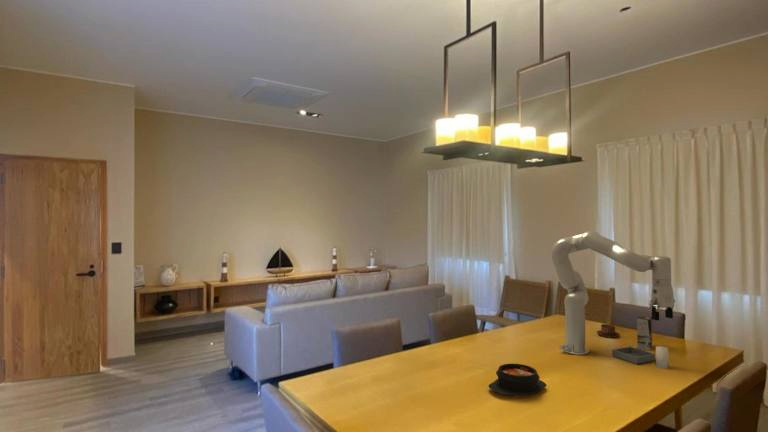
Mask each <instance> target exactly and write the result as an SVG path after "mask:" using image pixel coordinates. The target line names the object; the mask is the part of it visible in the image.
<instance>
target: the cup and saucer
mask: <svg viewBox="0 0 768 432" xmlns="http://www.w3.org/2000/svg"><path fill="white" fill-rule="evenodd" d="M600 328H601V329H600V330H597V331H596V333H597V334H598V335H599V336H601V337H605V338H617V337H619V336H620V333H619V332H616V326H615V325H612V324H608V323H607V324H606V323H605V324H601V325H600Z"/></svg>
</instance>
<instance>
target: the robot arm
mask: <svg viewBox="0 0 768 432" xmlns="http://www.w3.org/2000/svg"><path fill="white" fill-rule="evenodd" d="M587 249H590V250H592V251H593V252H596V253H598V254H600V255H603V256H605V257H606V258H609V259H611V260H612V261H615V262H617V263H619V264H620V265H621V266H622V265H623V266H624V267H626V268H630V270H633V271H636V272H638V273H644V272H648V271H651V274H652V275H651V276H652V277H651V278H652V281H651V282H652V286H651V295H650V296H651V299H650V300H649V302H648V305H649V309H650V312H651V317H652V321H653V320H654V321H657V322H658V321H660V312H659V310H660V308H661V309H664V308H665V309H664V310H665V311H664V314H665V315H664V316H665V317H664V318H668V319H674V309H675V308H674V307H675V303H676V299H675V297H674V289H673V286H672V259H671V258H670V257H669V256H664V255H663V256H660V255H659V256H658V255H655V256H652V255H647V254H645V255H644V254H638V253H635V252H633V251H632V250H629V249H627V248H625V247H623V246H622V245H621V244H620V243H618V242H617V241H615V240H612V239H610V238H607V237H606V236H602V235H600V233H598V232H596V231H594V230H587V231H585V232H583V233H581V234H577V235H574V236H573V235H572V236H568V237H563V238H560V239H559V240H557V241H556V242H555V243H554V244H553V246H552V249H551V259H552V262H553V265H554V269H555V272H556V274H557V278H558V282H559V284H560V286H561V287H562V288H563V289H566V290H567V294H566V295H565V297H564V299H563V302H564V304H563V305H564V312H565V315H564V316H565V318H564V320H565V342H564V343H563V344H562V345H559V346H558V348H559V350H562V351H563V352H564V353H567V354H571V355H578V356H579V355H580V356H584V355H588V354H589V352H590V351H589V349H588V348H586V312H585V310H586V309H585V306H587V303H588V302H589V294H588V292H587V288H586V285H585V283H584V279H583V277H582V275H581V274H580V273H579V272H578V271H577V270H574V268H573V264H572V261H571V260H570V257H569V255H570V254H572V253H575V252H576V253H577V252H580V251H584V250H587Z"/></svg>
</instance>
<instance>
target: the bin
mask: <svg viewBox="0 0 768 432" xmlns="http://www.w3.org/2000/svg"><path fill="white" fill-rule="evenodd" d="M611 353H612V354H611V357H612V358H615V359H618V360H621V361H625V362H627V363H630V364H633V365H636V366H639V365H642V364H647V363H653V362H656V353H653V352H649V351H648V350H644V349H638V348H636V347H633V346H626V347H620V348H615V349H612V350H611Z"/></svg>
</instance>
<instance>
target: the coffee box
mask: <svg viewBox="0 0 768 432" xmlns="http://www.w3.org/2000/svg"><path fill="white" fill-rule="evenodd" d="M636 321H637V323H636V326H637V327H636V329H637V330H636V332H637V333H636V334H637V335H636V337H637V338H636V339H637V341H636V342H637V343H636V346H637V349H640V350H643V351H652V348H653V319H652V316H644V315H641V316H640V315H638V317H637V319H636Z"/></svg>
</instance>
